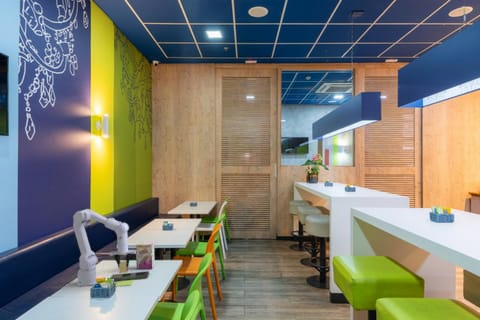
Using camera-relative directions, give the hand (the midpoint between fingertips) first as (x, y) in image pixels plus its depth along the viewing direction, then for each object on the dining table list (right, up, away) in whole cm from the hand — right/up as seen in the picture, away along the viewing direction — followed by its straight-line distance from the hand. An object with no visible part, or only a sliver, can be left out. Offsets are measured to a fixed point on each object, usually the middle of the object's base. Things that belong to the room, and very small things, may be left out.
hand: (123, 266), depth 178 cm
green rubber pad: (+1, -10, -1) cm, 10 cm away
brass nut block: (0, -3, 0) cm, 3 cm away
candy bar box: (+6, -10, +24) cm, 27 cm away
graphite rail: (+1, -10, +7) cm, 12 cm away
